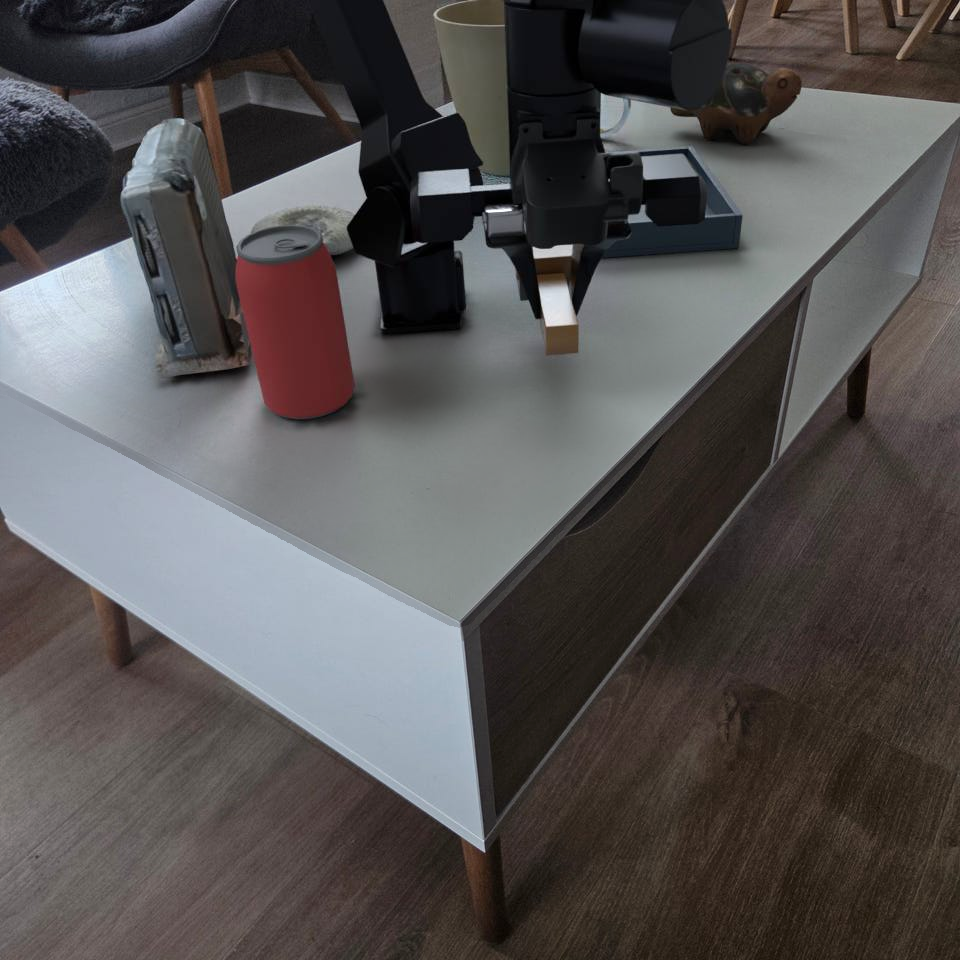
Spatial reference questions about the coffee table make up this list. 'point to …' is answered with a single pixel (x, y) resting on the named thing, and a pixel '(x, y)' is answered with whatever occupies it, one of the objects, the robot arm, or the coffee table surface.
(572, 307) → the brush
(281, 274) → the beer can
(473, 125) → the plant pot
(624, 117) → the ring
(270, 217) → the fossil
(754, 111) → the decorative turtle
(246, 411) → the coffee table surface
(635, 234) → the tray
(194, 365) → the radio
